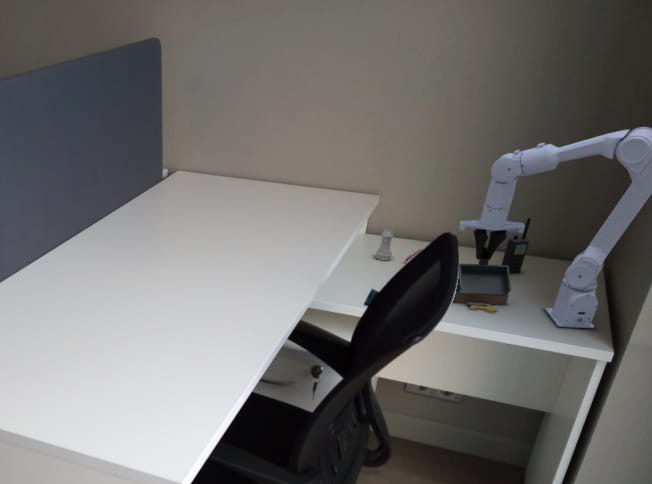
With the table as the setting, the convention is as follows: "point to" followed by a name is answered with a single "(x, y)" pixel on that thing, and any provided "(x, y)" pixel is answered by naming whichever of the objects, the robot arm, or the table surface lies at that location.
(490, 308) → the brass key
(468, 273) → the dark grey tray
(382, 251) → the rook chess piece
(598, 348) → the table surface
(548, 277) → the table surface
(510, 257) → the walkie-talkie
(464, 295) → the stand
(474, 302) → the teal key
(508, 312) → the table surface
